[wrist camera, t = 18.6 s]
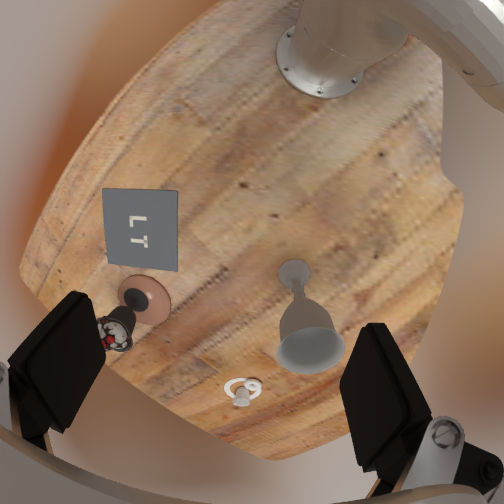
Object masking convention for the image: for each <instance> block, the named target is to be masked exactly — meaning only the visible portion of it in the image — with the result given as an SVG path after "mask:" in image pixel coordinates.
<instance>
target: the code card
mask: <svg viewBox="0 0 504 504" xmlns="http://www.w3.org/2000/svg"><path fill="white" fill-rule="evenodd" d="M102 198H103V216H104V229H105V239H106V249H107V257H108V263H110V264H117V265H125V266H133V267H141V268H150V269H158V270H167V271H176V272H178V248H177V210H178V191H168V190H143V189H102Z"/></svg>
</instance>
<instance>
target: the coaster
mask: <svg viewBox="0 0 504 504" xmlns="http://www.w3.org/2000/svg"><path fill="white" fill-rule="evenodd" d="M130 288H135V289H138V290H140V291H142V292H143V293H144V294H145V295H146V297H147V299H148V302H149V305H148V308H147V309H146V310H145V311H143V312H136V311H134V313H135V315H136V321H137V322H139V323H142V324H146V325H156V324H159V323H161V322H163V321H164V320H165V319H166V318H167V317H168V315H169V313H170V310H171V300H170V297H169V294H168V292H167V291H166V289H165V288H164V287H163V286H162V285H161V284H160V283H159V282H158V281H156V280H155V279H153V278H151V277H149V276H145V275H133V276H130V277H128V278H127V279H126V280H125V281H124V282H123V283H122V284H121V286H120V288H119V293H118V296H119V301H120V304H121V306H127V305H126V303H125V301H124V293H125V291H126V290H127V289H130Z"/></svg>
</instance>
